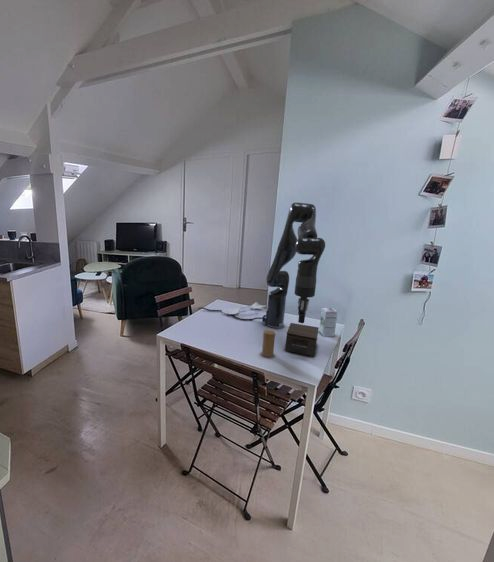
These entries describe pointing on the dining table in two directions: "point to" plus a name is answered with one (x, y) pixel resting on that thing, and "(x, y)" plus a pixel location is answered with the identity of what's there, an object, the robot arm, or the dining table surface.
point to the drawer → (300, 345)
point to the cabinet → (303, 333)
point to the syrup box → (328, 321)
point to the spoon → (235, 311)
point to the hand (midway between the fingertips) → (301, 322)
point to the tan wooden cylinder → (268, 343)
